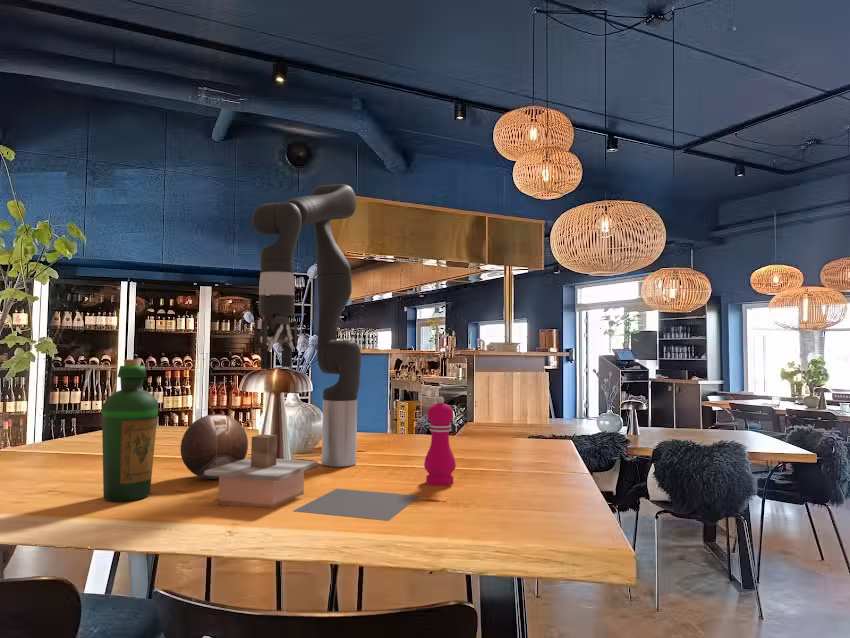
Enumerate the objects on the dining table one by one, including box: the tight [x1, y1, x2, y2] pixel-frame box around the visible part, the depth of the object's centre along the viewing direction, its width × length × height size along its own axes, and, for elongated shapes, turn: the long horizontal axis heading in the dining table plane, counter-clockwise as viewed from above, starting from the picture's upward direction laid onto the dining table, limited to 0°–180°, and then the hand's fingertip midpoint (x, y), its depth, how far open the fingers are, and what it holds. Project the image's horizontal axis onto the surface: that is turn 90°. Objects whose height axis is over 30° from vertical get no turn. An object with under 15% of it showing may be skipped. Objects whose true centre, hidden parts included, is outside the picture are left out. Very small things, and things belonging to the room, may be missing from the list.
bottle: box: [101, 359, 160, 503], centre depth 118 cm, size 11×11×28 cm
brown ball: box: [180, 413, 249, 480], centre depth 137 cm, size 15×15×15 cm
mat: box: [293, 488, 421, 522], centre depth 113 cm, size 19×19×1 cm
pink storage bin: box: [217, 470, 305, 509], centre depth 117 cm, size 12×12×6 cm
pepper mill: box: [423, 396, 456, 487], centre depth 133 cm, size 7×7×20 cm
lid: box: [204, 433, 319, 481], centre depth 117 cm, size 16×16×7 cm
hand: (276, 368), depth 126 cm, fingers open, 8 cm apart
